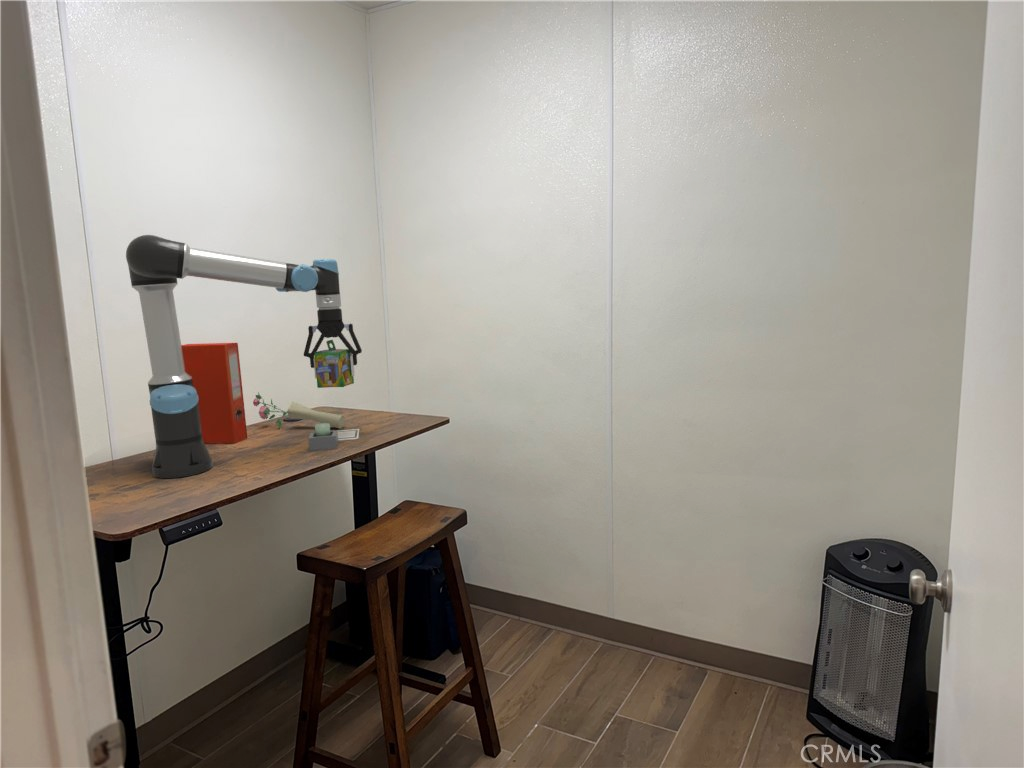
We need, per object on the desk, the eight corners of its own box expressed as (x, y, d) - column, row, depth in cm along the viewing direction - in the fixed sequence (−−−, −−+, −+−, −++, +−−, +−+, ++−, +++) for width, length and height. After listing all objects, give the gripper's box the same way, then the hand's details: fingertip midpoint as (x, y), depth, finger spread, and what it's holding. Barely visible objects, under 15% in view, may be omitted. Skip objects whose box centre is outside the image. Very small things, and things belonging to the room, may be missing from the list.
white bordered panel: (319, 442, 213) (319, 441, 212) (323, 432, 226) (323, 431, 226) (357, 439, 215) (357, 438, 215) (359, 429, 228) (359, 428, 228)
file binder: (200, 437, 226) (189, 343, 221) (248, 437, 224) (237, 342, 218) (185, 443, 219) (173, 346, 213) (234, 443, 216) (223, 345, 210)
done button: (315, 439, 204) (314, 426, 203) (316, 436, 208) (315, 423, 208) (330, 438, 205) (329, 425, 204) (331, 435, 209) (330, 422, 208)
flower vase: (333, 452, 230) (241, 429, 235) (349, 433, 241) (261, 412, 246) (333, 423, 224) (238, 400, 230) (349, 405, 235) (258, 384, 240)
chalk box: (343, 388, 212) (339, 341, 210) (316, 388, 214) (312, 342, 212) (355, 383, 221) (351, 338, 219) (329, 383, 223) (325, 338, 220)
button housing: (309, 451, 202) (308, 438, 202) (312, 444, 210) (311, 432, 210) (336, 448, 204) (335, 435, 203) (338, 442, 212) (337, 430, 211)
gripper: (289, 310, 208) (296, 380, 211) (366, 307, 212) (371, 375, 216) (292, 309, 215) (299, 377, 219) (366, 306, 219) (371, 372, 223)
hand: (335, 376), depth 217 cm, fingers closed on chalk box, 11 cm apart
